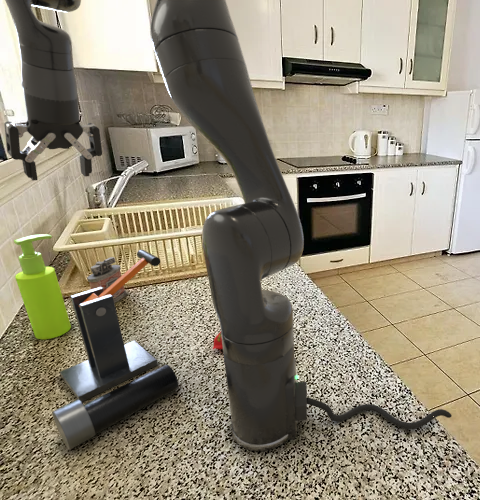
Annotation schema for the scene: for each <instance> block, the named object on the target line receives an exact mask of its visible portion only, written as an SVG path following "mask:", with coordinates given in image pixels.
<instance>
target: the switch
mask: <svg viewBox="0 0 480 500" xmlns="http://www.w3.org/2000/svg"><path fill="white" fill-rule="evenodd" d="M136 256H137V257H138V258H139V260H138V261H136V262H135V263H134V264H133V265H131V267H130V268H128V270H127V271H125V272H124V273H123V274H121V277H120V278H119V279H117V280H116V281H115V282H114V283H113V284H112V285H111V286H109V287H108V288H107V289H106V290H105V291H104V292H103V293H101V294H100V295H99V296H97V295H95V294H94V293H93V294H92V295H91V296H89V297H88V298H87V299H86V300H85V301H84V302H82V303H85V302H88V301H91V300H94V299H97V298H100V297H103V296H106V295H109V294H111V295H113V294H114V293H116V292H117V291H118V290H119V289H120V288H121V287H122V286H123V285H124V286H125V285H126V284H127V283H128V282H129V281H130V280H131V279H133V278H134V277H135V276H136V275H138V273H139V272H141V270H143V269H144V268H145V267H146V266H147V265H148V264H149V265H151V266H153V267H158V266H159V265H160V264H161V259H160V258H159V257H157V256H156V255H154V254H153V253H150V252H149V251H147V250H145V249H139V250H137V252H136ZM82 303H81V304H82ZM79 307H80V306H79Z"/></svg>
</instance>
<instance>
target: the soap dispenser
mask: <svg viewBox="0 0 480 500" xmlns="http://www.w3.org/2000/svg"><path fill="white" fill-rule="evenodd" d="M52 238H53V235H51V234H48V233H42V234H41V233H40V234H39V233H38V234H32V235H28V236H24V237H20V238H17V239H14V240H13V243H14V244H15V245H17V246H20V250H21V251H22V254H21V255H19V256H18V262H19V265H20V268H21V271H20V272H18V273H16V275H15V277H14V278H15V281H16V284H17V287H18V290H19V294H20V296H21V299H22V302H23V304H24V308H25V311H26V314H27V317H28V320H29V322H30V325H31V329H32V332H33V335H34V338H35V339H37V340H49V339H50V340H51V339H54V338H58V337H60V336H63V335H64V334H66V333H68V332H69V331H70V330H71V328H72V324H71V321H70V318H69V314H68V311H67V307H66V303H65V300H64V297H63V294H62V290H61V286H60V284H59V280H58V276H57V272H56V269H55V268H54V267H53V266H46V263H45V261H44V258H43V254H42V252H38V251H36V250H35V248H34V245H33V242H36V241H40V240H50V239H52Z"/></svg>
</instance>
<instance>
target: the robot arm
mask: <svg viewBox="0 0 480 500" xmlns="http://www.w3.org/2000/svg"><path fill="white" fill-rule="evenodd" d="M4 1H5V4H6V6H7V8H8V11H9V14H10V16H11V18H12V21H13V22H12V23H13V24H14V27H15V31H16V36H17V42H18V48H19V55H20V74H21V76H20V77H21V87H22V90H23V91H22V92H23V99H24V104H25V110H26V111H25V113H26V118H27V121H26V123H25V124H22V123H21V124H19V123H13V122H12V121H9V120H8V121H5V122H4V135H5V145H6V146H5V147H6V152H7V154H8V155H9V156H10V157H11V158H12V159H13V160H14V161H15V160H16V161H18V160H19V161H22V167H23V173H24V174H25V175H26V177H27V178H28V179H31V181H38V179H39V178H38V173H37V172H38V171H37V166H36V162H35V160H36V158H37V157H38V156H39V155H41V154H43V152H44V151H45V150H46V149H48V150H56V149H63V150H69V149H70V148H72V147H73V148H74V149H76V151H77V152H79V153H80V155H79V164H80V165H79V166H80V173H81V175H83V177H85V178H86V177H90V174H92V172H93V165H92V164H93V163H92V162H93V161H92V160H93V158H94V157H101V156H103V148H102V139H101V132H100V128H99V127H98V126H97V125H96V124H94V123H92V122H89V123H87V124H81V123H80V110H79V109H80V108H79V97H78V96H79V95H78V94H79V93H78V83H77V78H76V73H75V69H74V68H75V67H74V57H73V55H74V54H73V44H72V43H73V42H72V38H71V36H70V34H69V33H68V32H67V31H65V30H64V29H62V28H61V27H58V26H55V25H53V24H50V23H46V22H44V21H41V20H39V19H38V17H36V14H35V13H34V11H33V8H32V7H35V8H36V7H37V8H41V9H46V10H52V11H56V12H61V13H71V12H74V11H76V10H78V9H79V8H80V6H81V3H82V0H4ZM149 30H150V31H149V32H150V41H151V45H152V48H153V51H154V55H155V57H156V61H157V64H158V67H159V70H160V73H161V75H162V78H163V82H164V85H165V87H166V90H167V93H168V96H169V98H170V99H171V101H172V103H173V104H174V105H175V107H176V109H177V110H178V111H179V112H180V114H181V115H182V116H183V117H184V119H186V121H187V122H188V123H189V124H190V125H191V126H192V127H193V128H194V129H195V130H196V131H197V132H198V133H199V134H200V136H202V137H203V138H204V139H205V141H206V142H207V143H208V144H209V145H210V146H211V147H212V148H213V149H214V150H215V151H216V152H217V153H218V154H219V155H220V156H221V158H222V159H223V160H224V162H225V163H226V165H227V166H228V168H229V169H230V170H231V173H232V174H233V176H234V179H235V181H236V183H237V185H238V189H239V191H240V193H241V196H242V199H243V202H244V203H241V204H236V205H232V206H228V207H223V208H220V209H216V210H214V211H212V212H210V213H209V214H208V215H207V217H206V218H205V219H204V222H203V225H202V231H201V247H202V252H203V258H204V259H203V260H204V264H205V268H206V273H207V278H208V284H209V290H210V296H211V301H212V305H213V309H214V311H215V314H216V317H217V319H218V322H219V329H220V332H221V337H222V346H223V349H222V353H223V363H224V369H225V380H226V387H227V394H228V404H229V411H230V422H231V433H232V437H233V439H234V441H235V442H236V443H237V444H238V445H239V446H241V447H242V448H244V449H246V450H249V451H254V452H255V451H256V452H264V451H269V450H273V449H275V448H276V449H277V448H278V447H280V446H281V445H283V444H285V443H286V442H287V441H290V440H295V439H297V432H298V423H299V422H300V421H307V420H308V405H309V406H311V407H315V408H319V409H320V410H323V411H324V412H325V413H326V415H327V416H328V418H329V419H330V420H331V421H333V422H337V423H338V422H343V421H346V420H349V419H350V418H352V417H353V416H355V415H356V414H359V413H361V412H364V411H370V412H375V413H377V414H379V415H381V416H382V417H383V418H385V419H386V420H387V421H388V422H390V423H391V424H393V425H394V426H396V427H398V428H401V429H403V430H404V429H405V430H416V429H419V428H422V427H424V426H426V425H427V424H428V423H430V422H431V421H433V420H434V419H436V418H437V417H440V416H441V417H445V418H446V419H451V418H452V413H450V412H449V411H448V410H446V409H443V408H438V409H436V410H434V411H432V412H430V413H428V414H427V415H426V416H425V417H423V418H421V419H419V420H416V421H413V422H407V421H402V420H400V419H398V418H396V417H394V416H393V415H392V414H390V413H389V412H388V411H387V410H385V409H384V408H382V407H381V406H378V405H376V404H371V403H370V404H369V403H366V404H365V403H364V404H360V405H357V406H355V407H354V408H352V409H350V410H349V411H347V412H344V413H342V414H335V412H334V411H333V409H332V408H331V406H330V405H328V404H326V403H325V402H323V401H321V400H318V399H314V398H311V397H308V384H307V383H308V382H307V381H297V380H298V379H299V375H297V359H296V357H295V336H294V335H295V334H294V332H295V331H294V309H293V304H292V301H290V299H289V298H288V297H287V296H285V295H284V294H282V293H280V292H278V291H277V292H276V291H274V290H268V289H263V288H262V280H264V279H266V278H268V277H271V276H272V275H274V274H275V275H276V274H277V273H279V272H282V271H285V270H286V269H288V268H290V267H292V266H295V264H297V263H298V261H299V260H300V259H301V257H302V255H303V251H304V245H305V237H304V231H303V226H302V223H301V219H300V216H299V213H298V210H297V208H296V205H295V203H294V201H293V198H292V195H291V193H290V191H289V188H288V186H287V183H286V181H285V178H284V176H283V174H282V172H281V169H280V166H279V163H278V161H277V159H276V156H275V154H274V151H273V148H272V145H271V142H270V139H269V137H268V133H267V131H266V128H265V124H264V121H263V118H262V115H261V112H260V109H259V106H258V103H257V100H256V96H255V93H254V90H253V86H252V82H251V79H250V75H249V70H248V67H247V64H246V60H245V57H244V53H243V50H242V47H241V43H240V41H239V37H238V34H237V31H236V29H235V26H234V22H233V19H232V16H231V13H230V10H229V6H228V3H227V0H155V4H154V7H153V10H152V15H151V20H150V27H149ZM26 132H27V133H28V134H29V135H30V136H31V137H30V138H29V140H28V141H27V143H26V145H25V147H24V148H23V149H22V150H21V146H20V139H21V138H23V137H24V134H25V133H26ZM83 133H84V134H85V135H86V136H87V137H88V142H89V148H86V147H84V145H82V143H81V142H79V139H80V137H81V136H82V135H83ZM433 416H434V417H433Z"/></svg>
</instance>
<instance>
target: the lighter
mask: <svg viewBox="0 0 480 500" xmlns="http://www.w3.org/2000/svg"><path fill="white" fill-rule="evenodd" d="M115 263H116V258H115V257H114V256H110V257H107V258H106V259H104V260H103V261H96V262H95V264H94V265H92V266H91V267H90V272H92V273H91V274H90V275H88V276H87V277H86V279H87V282H89V286H90V287H89V288H90V290H92V289H95V288H98V287H102V288H103V291H105V290H106V289H107V288H108V287H109V286H111V285H112V284H113V283H114V282H115V281H116V280H117V279H119V278H120V277H121V276H122V273H121V270H122V267H121V265H120V264H115ZM112 296H113V299H114V304H115V303H117V302H119V301H120V300H121V299H123V298H124V297H125V296H127V291H126V290H125V285H123V286H122V287H121V288H120V289H119V290H118V291H117V292H116V293H114V294H113V295H112Z"/></svg>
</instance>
